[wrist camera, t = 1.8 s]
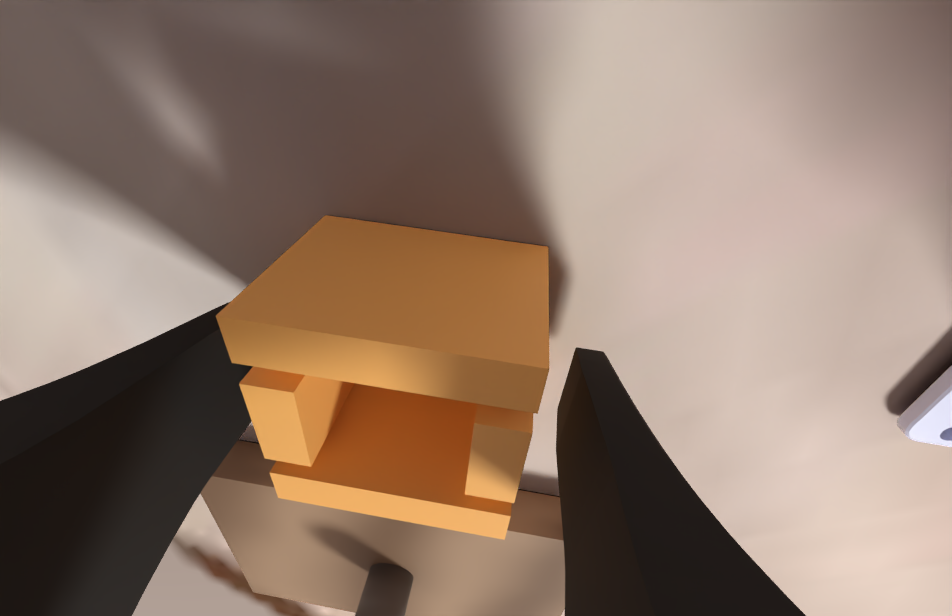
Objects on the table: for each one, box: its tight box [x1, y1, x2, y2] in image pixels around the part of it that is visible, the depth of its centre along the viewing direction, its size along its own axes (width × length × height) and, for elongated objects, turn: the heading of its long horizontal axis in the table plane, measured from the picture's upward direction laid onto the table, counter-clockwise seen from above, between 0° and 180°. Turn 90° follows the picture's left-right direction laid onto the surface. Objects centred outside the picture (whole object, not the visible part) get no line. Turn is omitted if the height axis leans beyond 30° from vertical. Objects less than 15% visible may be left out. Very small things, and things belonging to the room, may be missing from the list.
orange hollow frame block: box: [216, 215, 549, 540], centre depth 10 cm, size 5×5×4 cm
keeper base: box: [201, 440, 565, 616], centre depth 16 cm, size 14×10×5 cm
